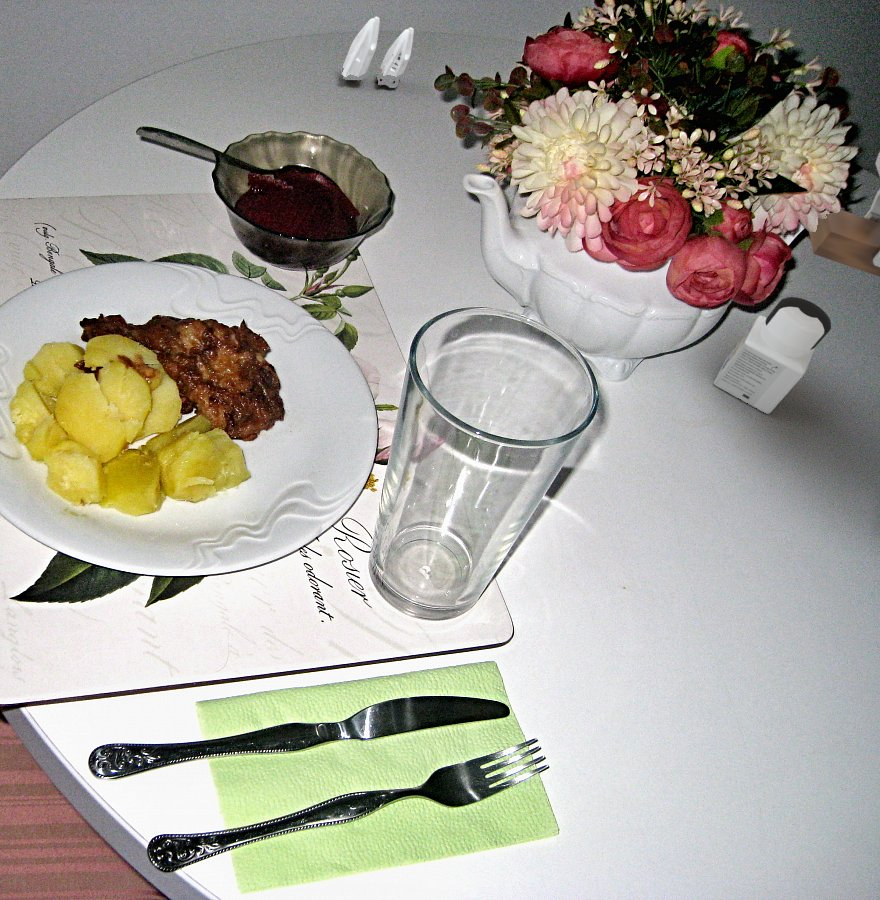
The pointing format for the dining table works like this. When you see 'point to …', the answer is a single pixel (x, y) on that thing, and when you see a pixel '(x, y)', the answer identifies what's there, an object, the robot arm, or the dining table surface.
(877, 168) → the robot arm
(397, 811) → the dining table surface
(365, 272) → the dining table surface
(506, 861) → the dining table surface
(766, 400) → the container
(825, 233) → the wooden brick
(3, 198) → the dining table surface
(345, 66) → the shaker set
